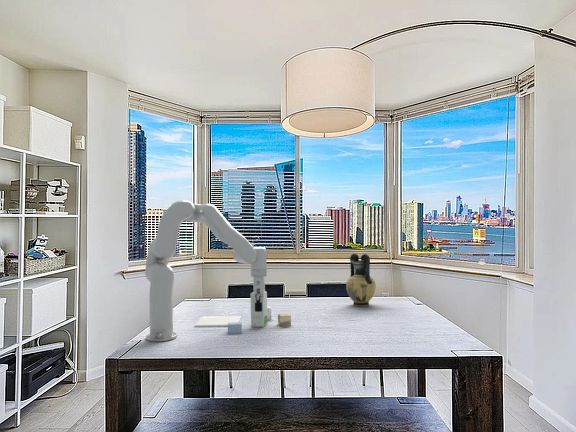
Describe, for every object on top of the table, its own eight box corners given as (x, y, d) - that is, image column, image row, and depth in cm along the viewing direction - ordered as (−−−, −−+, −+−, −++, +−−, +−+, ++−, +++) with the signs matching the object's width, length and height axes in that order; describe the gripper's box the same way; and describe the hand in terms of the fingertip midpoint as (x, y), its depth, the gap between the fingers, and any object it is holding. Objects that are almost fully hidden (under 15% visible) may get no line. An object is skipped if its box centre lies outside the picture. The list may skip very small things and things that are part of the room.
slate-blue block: (241, 333, 195) (241, 324, 195) (227, 333, 194) (227, 324, 194) (241, 331, 199) (241, 322, 199) (228, 331, 198) (228, 322, 198)
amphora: (340, 304, 260) (339, 253, 261) (358, 301, 271) (357, 252, 272) (364, 308, 247) (363, 255, 248) (382, 305, 258) (381, 253, 259)
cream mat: (237, 326, 207) (237, 324, 207) (194, 326, 207) (194, 325, 207) (241, 317, 227) (241, 315, 227) (202, 317, 227) (202, 316, 227)
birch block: (290, 325, 208) (290, 315, 208) (280, 326, 207) (280, 315, 207) (288, 323, 213) (287, 313, 213) (278, 324, 211) (277, 313, 211)
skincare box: (263, 327, 205) (263, 293, 205) (249, 326, 206) (249, 293, 206) (267, 323, 213) (267, 290, 213) (254, 322, 214) (254, 290, 215)
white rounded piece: (271, 320, 220) (271, 308, 220) (261, 320, 220) (261, 308, 220) (271, 318, 225) (271, 306, 225) (261, 318, 225) (261, 306, 225)
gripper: (265, 275, 201) (266, 313, 201) (267, 271, 219) (267, 306, 218) (249, 275, 201) (249, 313, 201) (252, 271, 219) (252, 306, 218)
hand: (259, 309), depth 210 cm, fingers closed on skincare box, 9 cm apart
